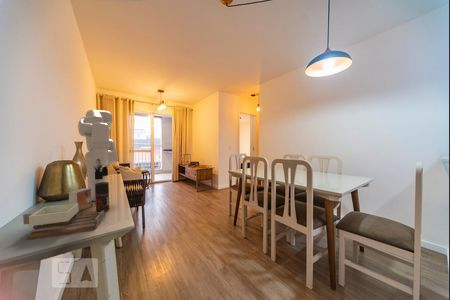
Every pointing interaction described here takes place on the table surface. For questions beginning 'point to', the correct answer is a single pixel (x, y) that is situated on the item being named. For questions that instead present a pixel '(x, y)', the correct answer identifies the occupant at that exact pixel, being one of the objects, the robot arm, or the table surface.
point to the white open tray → (51, 215)
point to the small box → (81, 198)
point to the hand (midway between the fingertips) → (101, 177)
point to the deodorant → (102, 196)
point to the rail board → (68, 226)
